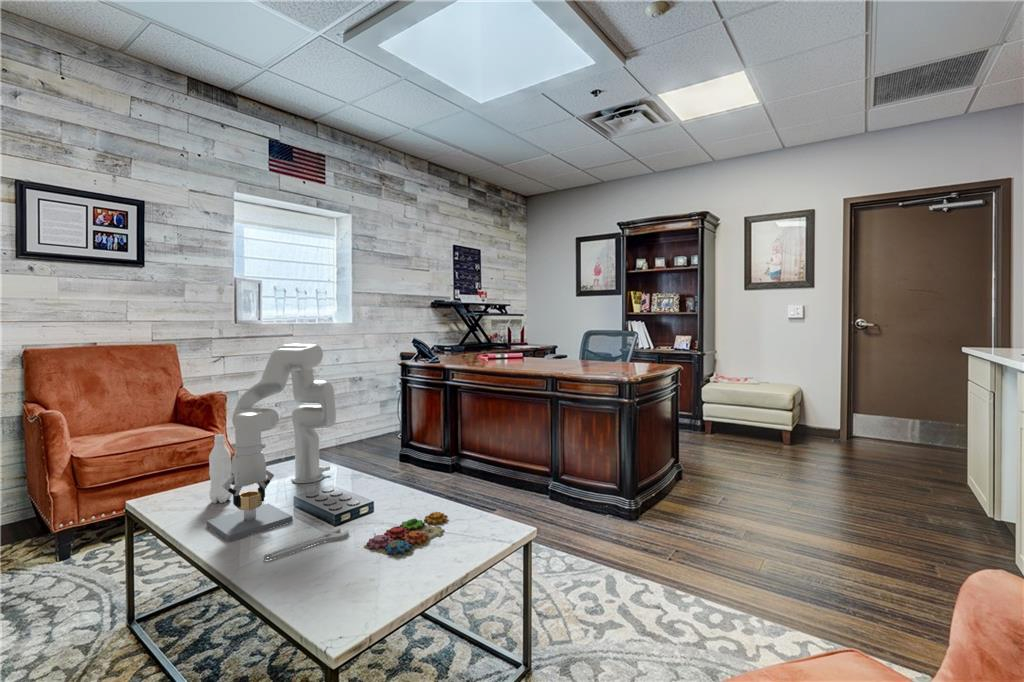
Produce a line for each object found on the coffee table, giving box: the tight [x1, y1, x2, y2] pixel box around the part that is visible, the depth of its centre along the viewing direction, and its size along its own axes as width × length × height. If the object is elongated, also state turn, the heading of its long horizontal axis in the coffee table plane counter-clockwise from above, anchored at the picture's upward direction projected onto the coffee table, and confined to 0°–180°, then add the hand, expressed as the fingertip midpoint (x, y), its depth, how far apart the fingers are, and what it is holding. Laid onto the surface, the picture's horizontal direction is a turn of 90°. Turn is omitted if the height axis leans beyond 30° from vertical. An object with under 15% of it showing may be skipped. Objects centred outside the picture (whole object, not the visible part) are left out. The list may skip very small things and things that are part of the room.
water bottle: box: [208, 433, 233, 504], centre depth 188 cm, size 7×7×25 cm
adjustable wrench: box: [263, 528, 349, 561], centre depth 152 cm, size 25×6×2 cm, turn 132°
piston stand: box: [206, 503, 294, 543], centre depth 167 cm, size 20×18×7 cm
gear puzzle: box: [363, 511, 448, 559], centre depth 160 cm, size 31×16×4 cm, turn 151°
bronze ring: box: [236, 490, 263, 511], centre depth 167 cm, size 7×7×4 cm
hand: (249, 503), depth 167 cm, fingers closed on bronze ring, 6 cm apart
